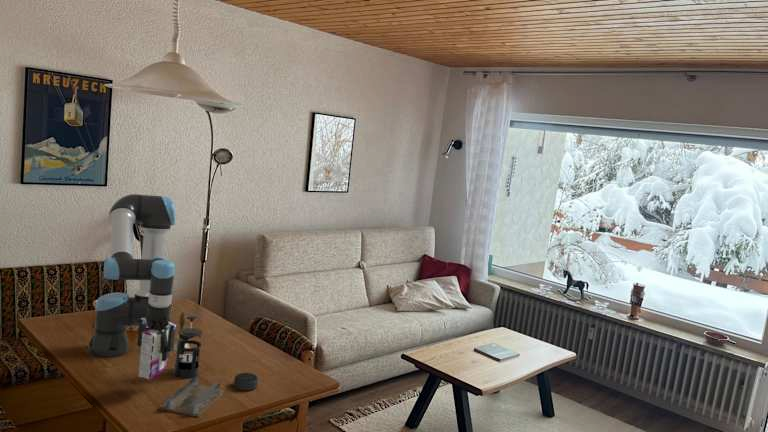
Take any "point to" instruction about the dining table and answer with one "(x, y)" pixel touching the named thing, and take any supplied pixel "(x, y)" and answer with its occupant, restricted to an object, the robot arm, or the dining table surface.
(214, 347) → the dining table surface
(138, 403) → the dining table surface
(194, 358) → the french press
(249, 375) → the smart speaker
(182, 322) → the hand bell
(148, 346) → the candy bar box
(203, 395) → the sliding track
